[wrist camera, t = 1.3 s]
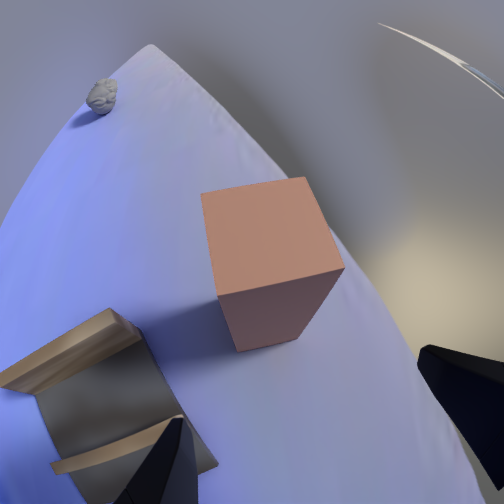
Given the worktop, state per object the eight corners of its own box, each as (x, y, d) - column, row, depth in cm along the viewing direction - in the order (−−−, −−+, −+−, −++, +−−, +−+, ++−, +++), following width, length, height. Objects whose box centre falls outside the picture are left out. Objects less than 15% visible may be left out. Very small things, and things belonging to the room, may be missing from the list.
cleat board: (218, 463, 16) (206, 485, 11) (94, 504, 12) (59, 519, 7) (140, 329, 22) (109, 307, 17) (37, 385, 18) (-3, 374, 13)
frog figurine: (129, 103, 42) (121, 73, 36) (101, 123, 39) (89, 92, 33) (113, 100, 44) (104, 73, 38) (86, 119, 41) (75, 91, 35)
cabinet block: (297, 338, 21) (345, 267, 10) (237, 352, 21) (217, 295, 10) (279, 276, 24) (299, 165, 13) (224, 288, 24) (198, 181, 13)
